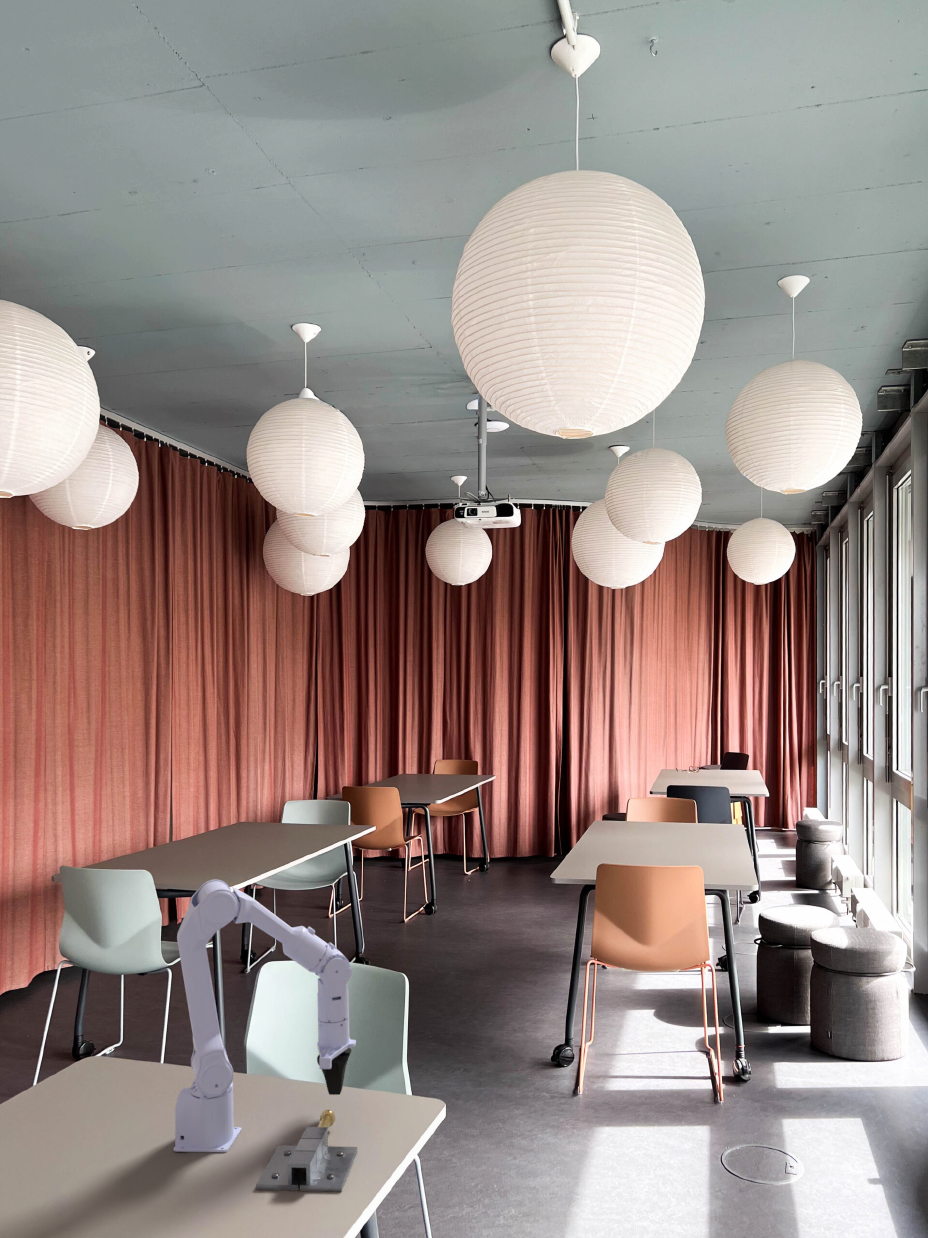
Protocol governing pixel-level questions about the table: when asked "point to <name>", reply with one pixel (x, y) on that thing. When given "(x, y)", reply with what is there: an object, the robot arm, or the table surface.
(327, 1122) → the pin
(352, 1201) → the table surface
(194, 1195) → the table surface
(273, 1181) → the hinge
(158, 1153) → the table surface
